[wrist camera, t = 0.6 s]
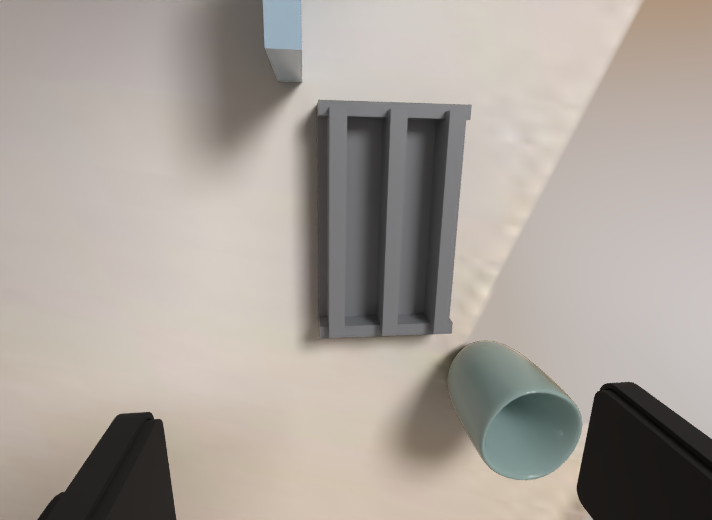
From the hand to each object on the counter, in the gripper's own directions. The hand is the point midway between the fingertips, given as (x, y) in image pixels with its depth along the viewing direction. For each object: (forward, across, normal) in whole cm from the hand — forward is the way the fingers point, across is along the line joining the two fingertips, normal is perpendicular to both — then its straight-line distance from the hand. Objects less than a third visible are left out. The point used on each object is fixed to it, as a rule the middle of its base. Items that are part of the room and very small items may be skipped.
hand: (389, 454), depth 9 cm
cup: (+26, -14, +14) cm, 33 cm away
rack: (+26, -5, 0) cm, 27 cm away
